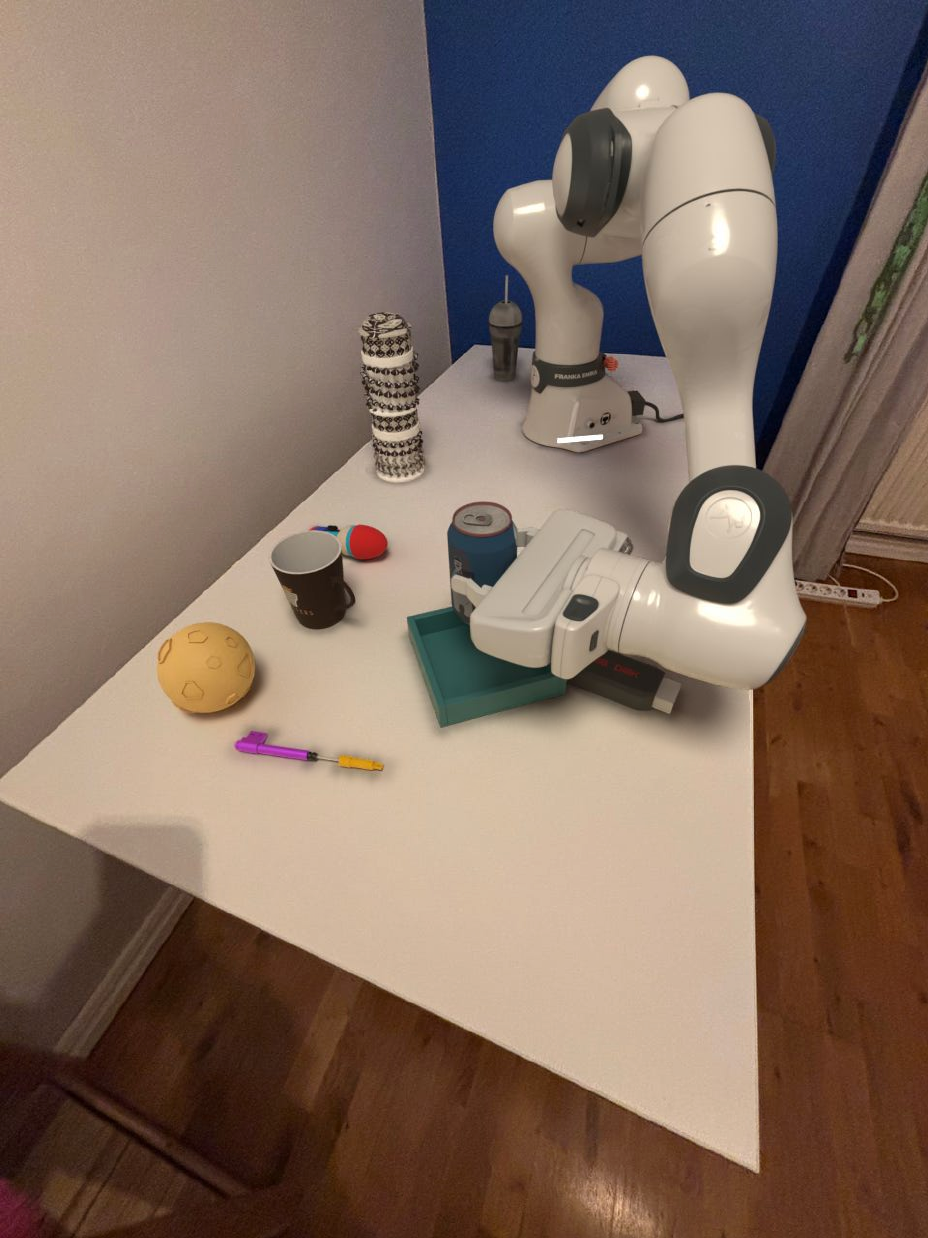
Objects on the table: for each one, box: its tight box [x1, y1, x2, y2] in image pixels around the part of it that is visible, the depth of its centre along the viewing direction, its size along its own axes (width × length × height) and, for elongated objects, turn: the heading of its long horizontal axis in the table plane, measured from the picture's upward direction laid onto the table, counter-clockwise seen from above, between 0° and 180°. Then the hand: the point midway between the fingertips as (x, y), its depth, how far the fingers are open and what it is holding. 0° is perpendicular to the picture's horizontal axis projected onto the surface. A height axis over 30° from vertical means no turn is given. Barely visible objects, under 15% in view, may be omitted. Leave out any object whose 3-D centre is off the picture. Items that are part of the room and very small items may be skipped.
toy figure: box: [309, 524, 389, 560], centre depth 87 cm, size 8×5×15 cm
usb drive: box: [566, 649, 682, 715], centre depth 67 cm, size 5×12×3 cm, turn 60°
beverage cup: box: [487, 274, 524, 382], centre depth 126 cm, size 7×7×20 cm
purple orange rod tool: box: [233, 730, 384, 771], centre depth 62 cm, size 3×1×16 cm
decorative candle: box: [356, 311, 426, 483], centre depth 96 cm, size 9×9×25 cm
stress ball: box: [156, 621, 256, 715], centre depth 65 cm, size 10×10×10 cm
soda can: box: [446, 501, 518, 625], centre depth 61 cm, size 7×7×12 cm
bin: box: [406, 606, 568, 728], centre depth 70 cm, size 15×15×4 cm
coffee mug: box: [268, 529, 356, 630], centre depth 74 cm, size 12×9×10 cm
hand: (474, 556), depth 61 cm, fingers closed on soda can, 7 cm apart
